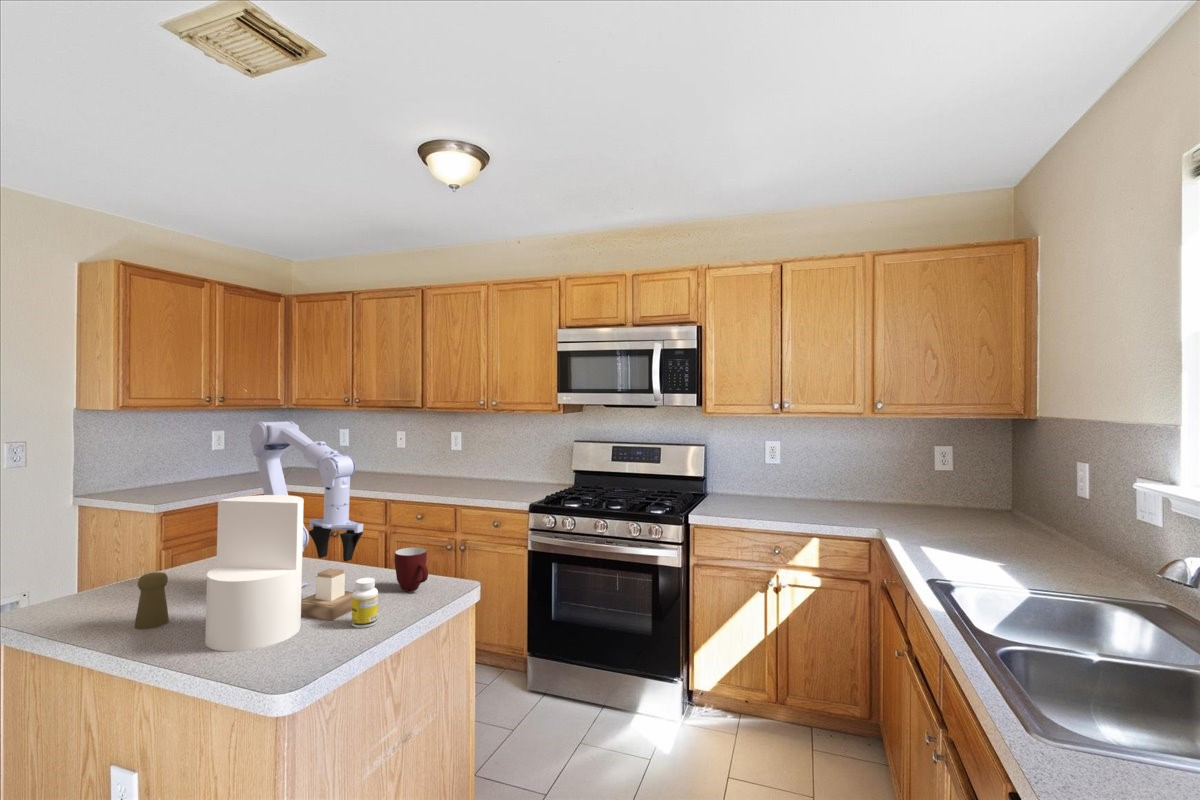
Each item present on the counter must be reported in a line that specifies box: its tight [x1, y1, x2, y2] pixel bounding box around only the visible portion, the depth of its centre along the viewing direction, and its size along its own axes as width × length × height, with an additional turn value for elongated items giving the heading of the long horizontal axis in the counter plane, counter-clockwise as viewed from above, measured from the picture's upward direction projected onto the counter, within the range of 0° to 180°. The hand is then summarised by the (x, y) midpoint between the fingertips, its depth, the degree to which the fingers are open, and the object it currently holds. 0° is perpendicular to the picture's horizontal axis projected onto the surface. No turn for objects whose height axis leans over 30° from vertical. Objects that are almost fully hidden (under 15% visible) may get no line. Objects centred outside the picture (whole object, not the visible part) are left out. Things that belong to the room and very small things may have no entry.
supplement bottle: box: [351, 577, 379, 629], centre depth 127 cm, size 5×5×10 cm
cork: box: [134, 571, 170, 630], centre depth 124 cm, size 6×6×11 cm
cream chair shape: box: [204, 494, 305, 652], centre depth 120 cm, size 17×17×28 cm
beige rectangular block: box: [315, 567, 346, 601], centre depth 134 cm, size 4×4×6 cm
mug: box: [393, 547, 429, 592], centre depth 150 cm, size 10×8×10 cm
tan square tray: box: [301, 590, 354, 622], centre depth 134 cm, size 10×10×3 cm
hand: (335, 558), depth 141 cm, fingers open, 7 cm apart
